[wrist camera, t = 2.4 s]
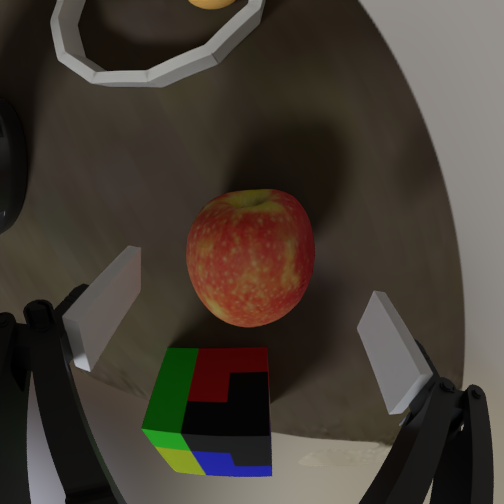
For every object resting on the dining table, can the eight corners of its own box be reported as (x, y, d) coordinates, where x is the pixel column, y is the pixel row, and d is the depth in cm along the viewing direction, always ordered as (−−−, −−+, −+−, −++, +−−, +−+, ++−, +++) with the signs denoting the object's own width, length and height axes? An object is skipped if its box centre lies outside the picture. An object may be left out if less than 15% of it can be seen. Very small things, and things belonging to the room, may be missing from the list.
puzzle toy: (270, 403, 31) (272, 476, 22) (188, 403, 31) (175, 471, 22) (267, 346, 26) (269, 435, 17) (167, 347, 27) (141, 428, 18)
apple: (306, 180, 20) (334, 213, 13) (302, 282, 23) (319, 349, 16) (195, 183, 20) (160, 217, 13) (205, 283, 24) (186, 351, 16)
